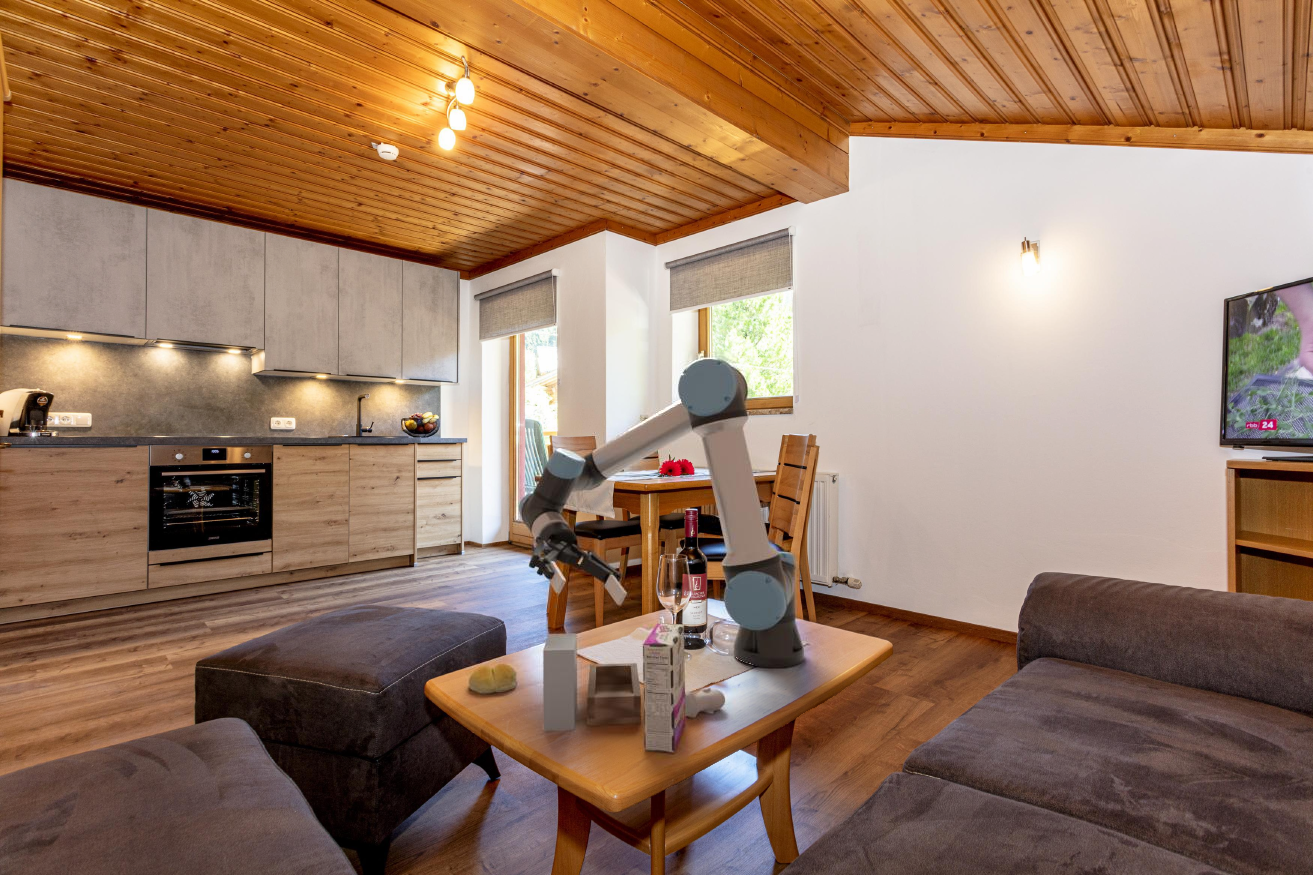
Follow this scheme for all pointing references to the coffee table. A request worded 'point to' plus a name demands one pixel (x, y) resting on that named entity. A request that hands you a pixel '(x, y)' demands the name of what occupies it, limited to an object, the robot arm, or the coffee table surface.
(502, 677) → the bread roll
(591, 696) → the open brown box
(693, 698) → the pale two-lobed sculpture
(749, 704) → the coffee table surface
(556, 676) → the grey box
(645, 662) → the candy bar box
